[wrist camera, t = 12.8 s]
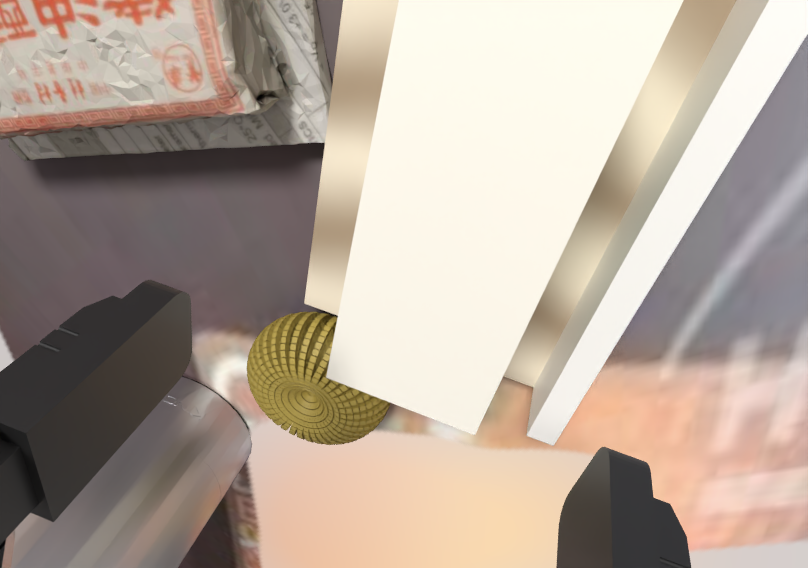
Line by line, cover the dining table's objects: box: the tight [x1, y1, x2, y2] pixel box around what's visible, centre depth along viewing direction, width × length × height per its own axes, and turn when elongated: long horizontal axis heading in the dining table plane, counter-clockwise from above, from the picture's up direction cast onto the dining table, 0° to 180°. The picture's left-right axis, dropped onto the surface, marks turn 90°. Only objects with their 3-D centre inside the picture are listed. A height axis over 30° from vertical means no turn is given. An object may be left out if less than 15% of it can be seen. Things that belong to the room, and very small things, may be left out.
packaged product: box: [0, 0, 332, 161], centre depth 22 cm, size 18×5×10 cm
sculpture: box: [247, 312, 390, 445], centre depth 30 cm, size 8×4×8 cm
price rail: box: [527, 0, 808, 446], centre depth 19 cm, size 21×1×3 cm, turn 168°
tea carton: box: [326, 0, 684, 435], centre depth 18 cm, size 6×14×7 cm, turn 167°
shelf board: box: [304, 0, 736, 388], centre depth 21 cm, size 21×13×2 cm, turn 168°
